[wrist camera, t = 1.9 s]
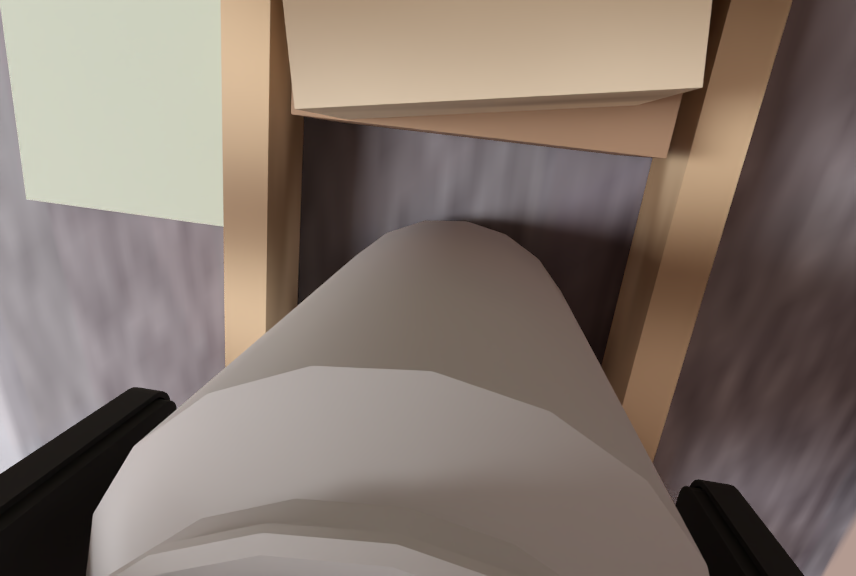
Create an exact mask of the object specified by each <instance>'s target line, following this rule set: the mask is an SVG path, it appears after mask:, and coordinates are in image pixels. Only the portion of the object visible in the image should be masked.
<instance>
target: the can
mask: <svg viewBox="0 0 856 576" xmlns="http://www.w3.org/2000/svg"><path fill="white" fill-rule="evenodd" d="M86 576H709V571H708V567H707V564H706V562H705V560H704V559H703V557H702V555H701V553H700V551H699V549H698V547H697V545H696V544H695V542H694V540H693V538H692V536H691V534H690V532H689V530H688V529H687V527H686V525H685V523H684V521H683V519H682V517H681V515H680V514H679V512H678V510H677V508H676V506H675V504H674V502H673V500H672V499H671V497H670V495H669V493H668V491H667V489H666V487H665V486H664V484H663V482H662V480H661V478H660V476H659V474H658V472H657V471H656V469H655V467H654V465H653V463H652V461H651V459H650V457H649V456H648V454H647V452H646V450H645V448H644V446H643V444H642V442H641V441H640V439H639V437H638V435H637V433H636V431H635V429H634V427H633V426H632V424H631V422H630V420H629V418H628V416H627V414H626V412H625V411H624V409H623V407H622V405H621V403H620V401H619V399H618V397H617V396H616V394H615V392H614V390H613V388H612V386H611V384H610V382H609V381H608V379H607V377H606V375H605V373H604V371H603V369H602V367H601V366H600V364H599V362H598V360H597V358H596V356H595V354H594V352H593V351H592V349H591V347H590V345H589V343H588V341H587V339H586V337H585V336H584V334H583V332H582V330H581V328H580V326H579V324H578V322H577V321H576V319H575V317H574V315H573V313H572V311H571V309H570V307H569V306H568V304H567V302H566V300H565V298H564V296H563V294H562V292H561V291H560V289H559V288H558V286H557V285H556V284H555V282H554V281H553V279H552V278H551V276H550V275H549V273H548V272H547V270H546V269H545V268H544V266H543V265H542V263H541V262H540V260H539V259H538V258H537V257H535V256H534V255H533V254H531V253H530V252H529V251H527V250H526V249H525V248H523V247H522V246H521V245H519V244H518V243H517V242H515V241H514V240H513V239H511V238H510V237H509V236H507V235H506V234H503V233H500V232H497V231H494V230H491V229H488V228H485V227H482V226H479V225H476V224H473V223H470V222H467V221H423V222H419V223H416V224H413V225H410V226H407V227H404V228H400V229H397V230H394V231H391V232H388V233H386V234H385V235H383V236H382V237H380V238H379V239H378V240H376V241H375V242H374V243H372V244H371V245H370V246H368V247H367V248H366V249H364V250H363V251H361V252H360V253H359V254H357V255H356V256H355V257H354V258H353V259H351V260H350V261H349V262H348V263H347V264H346V265H344V266H343V267H342V268H341V269H340V270H339V271H337V272H336V273H335V274H334V275H333V276H332V277H330V278H329V279H328V280H327V281H326V282H325V283H323V284H322V285H321V286H320V287H319V288H318V289H316V290H315V291H314V292H313V293H312V294H311V295H309V296H308V297H307V298H306V299H305V300H304V301H302V302H301V303H300V304H299V305H298V306H297V307H295V308H294V309H293V310H292V311H291V312H290V313H288V314H287V315H286V316H285V317H284V318H283V319H281V320H280V321H279V322H278V323H277V324H276V325H274V326H273V327H272V328H271V329H270V330H269V331H267V332H266V333H265V334H264V335H263V336H262V337H260V338H259V339H258V340H257V341H256V342H255V343H253V344H252V345H251V346H250V347H249V348H248V349H246V350H245V351H244V352H243V353H242V354H241V355H239V356H238V357H237V358H236V359H235V360H234V361H232V362H231V363H230V364H229V365H228V366H227V367H226V368H224V369H223V370H222V371H221V372H220V373H219V374H217V375H216V376H215V377H214V378H213V379H212V380H210V381H209V382H208V383H207V384H206V385H205V386H203V387H202V388H201V389H200V390H199V391H198V392H196V393H195V394H194V395H193V396H192V397H191V398H189V399H188V400H187V401H186V402H185V403H184V404H182V405H181V406H180V407H179V408H178V409H177V410H175V411H174V412H173V413H172V414H171V415H170V416H168V417H167V418H166V419H165V420H164V421H163V422H161V423H160V424H159V425H158V426H157V427H156V428H154V429H153V430H152V431H151V432H150V433H149V434H147V435H146V436H145V437H144V438H143V439H142V440H140V441H139V442H138V443H137V444H136V445H135V446H133V448H132V450H131V451H130V453H129V455H128V456H127V458H126V460H125V461H124V463H123V465H122V466H121V468H120V470H119V471H118V473H117V475H116V476H115V478H114V480H113V482H112V483H111V485H110V487H109V488H108V490H107V492H106V493H105V495H104V497H103V498H102V500H101V502H100V503H99V505H98V507H97V508H96V510H95V512H94V513H93V519H92V527H91V536H90V545H89V554H88V562H87V571H86Z"/></svg>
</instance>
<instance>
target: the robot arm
mask: <svg viewBox="0 0 856 576" xmlns="http://www.w3.org/2000/svg"><path fill="white" fill-rule="evenodd" d="M175 410H177V408H176V404H175V403H174V402H173V401H170V398H169V396H168V394H167V393H165V392H163V391H157V390H151V389H145V388H138V387H133V388H131V389H129V390H127V391H125V392H124V393H122V394H121V395H119V396H118V397H116V398H115V399H113V400H112V401H110V402H109V403H107V404H106V405H104V406H103V407H101V408H100V409H98V410H97V411H95V412H94V413H92V414H91V415H89V416H87V417H86V418H84V419H83V420H81V421H80V422H78V423H77V424H75V425H74V426H72V427H71V428H69V429H68V430H66V431H65V432H63V433H62V434H60V435H59V436H57V437H56V438H54V439H53V440H51V441H50V442H48V443H47V444H45V445H44V446H42V447H40V448H39V449H37V450H36V451H34V452H33V453H31V454H30V455H28V456H27V457H25V458H24V459H22V460H21V461H19V462H18V463H16V464H15V465H13V466H12V467H10V468H9V469H7V470H6V471H4V472H3V473H1V474H0V576H86V571H87V562H88V554H89V545H90V536H91V527H92V519H93V513H94V512H95V510H96V508H97V507H98V505H99V503H100V502H101V500H102V498H103V497H104V495H105V493H106V492H107V490H108V488H109V487H110V485H111V483H112V482H113V480H114V478H115V476H116V475H117V473H118V471H119V470H120V468H121V466H122V465H123V463H124V461H125V460H126V458H127V456H128V455H129V453H130V451H131V450H132V448H133V446H135V445H136V444H137V443H138V442H139V441H140V440H142V439H143V438H144V437H145V436H146V435H147V434H149V433H150V432H151V431H152V430H153V429H154V428H156V427H157V426H158V425H159V424H160V423H161V422H163V421H164V420H165V419H166V418H167V417H168V416H170V415H171V414H172V413H173V412H174V411H175ZM675 506H676V508H677V510H678V512H679V514H680V515H681V517H682V519H683V521H684V523H685V525H686V527H687V529H688V530H689V532H690V534H691V536H692V538H693V540H694V542H695V544H696V545H697V547H698V549H699V551H700V553H701V555H702V557H703V559H704V560H705V562H706V564H707V567H708V571H709V576H804V575H803V573H802V572H801V571H800V570H799V568H798V567H797V566H796V564H795V563H794V562H793V560H792V559H791V558H790V557H789V555H788V554H787V553H786V551H785V550H784V549H783V548H782V546H781V545H780V544H779V542H778V541H777V540H776V539H775V537H774V536H773V535H772V533H771V532H770V531H769V529H768V528H767V527H766V526H765V524H764V523H763V522H762V520H761V519H760V518H759V517H758V515H757V514H756V513H755V511H754V510H753V509H752V508H751V506H750V505H749V504H748V502H747V501H746V500H745V498H744V497H743V496H742V495H741V493H740V492H739V491H738V490H737V489H736V488H735V487H734V486H732V485H729V484H722V483H716V482H710V481H704V480H694V481H693V482H692V484H691V485H690V487H688V486H685V487H683V488H682V489H681V491H680V493H679V496H678V499H677V502H676V505H675Z"/></svg>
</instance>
